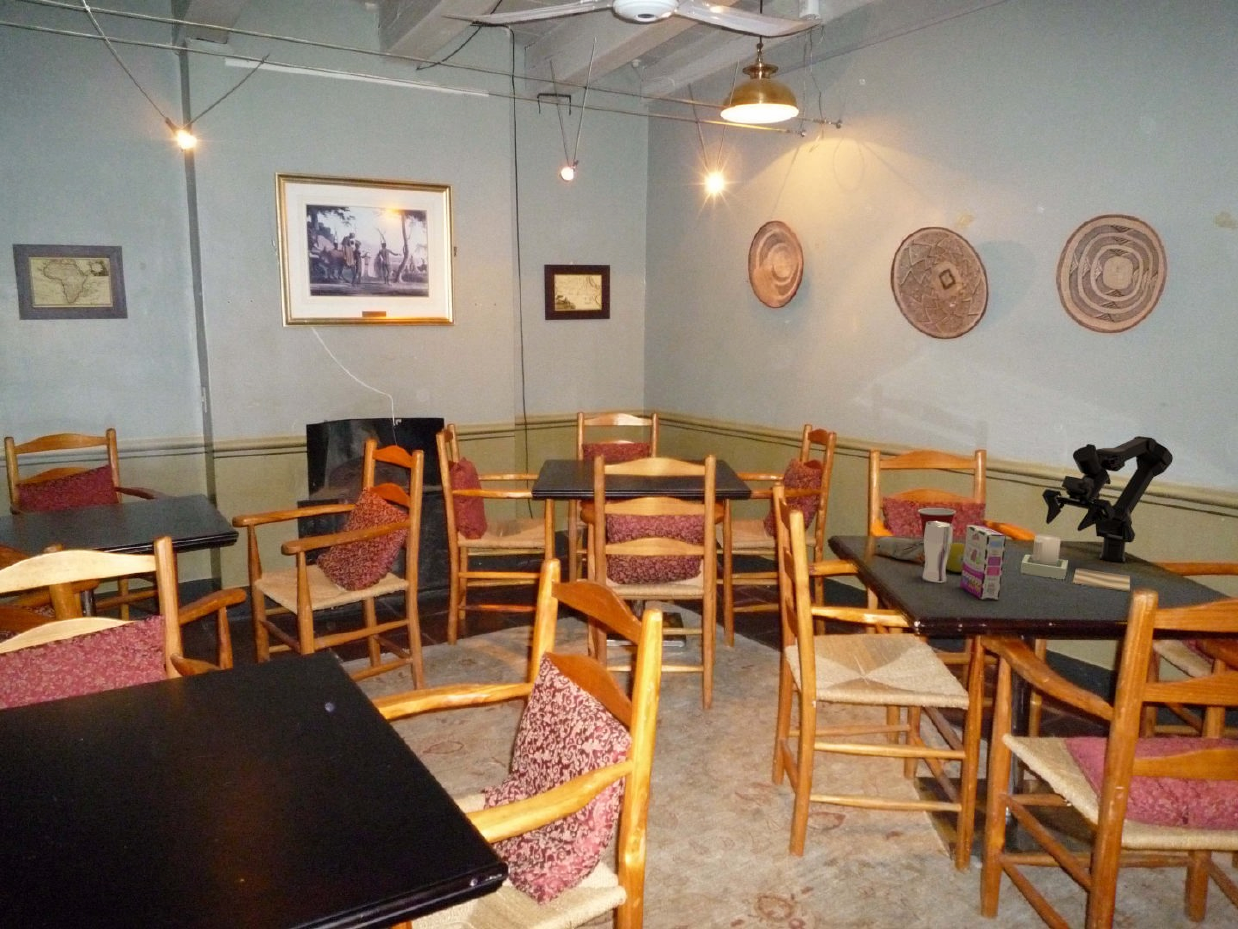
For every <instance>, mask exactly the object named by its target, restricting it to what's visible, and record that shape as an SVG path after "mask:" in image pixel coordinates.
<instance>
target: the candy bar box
mask: <svg viewBox="0 0 1238 929" xmlns="http://www.w3.org/2000/svg"><path fill="white" fill-rule="evenodd" d="M965 530H966V531H965V540H964V544H965V547H964V557H963V566H962V572H961V577H960V578H961V579H960V587H961V588H962V589H963V590H964V591H966V592H968V593H969V594H971V595H973V596H975V597H976V598H978V599H980V600H983V601H985V600H986V601H999V600H1000V592H1001V586H1002V585H1001V584H1002V574H1003V565H1004V558H1005V548H1006V539H1007V535H1006V534H1004V533H1001V532H999V531H996V530H994V529H992V528H990V527H988V526H985V525H980V524H979V525H975V524H974V525H972V524H971V525H970V524H967V525H966V529H965Z"/></svg>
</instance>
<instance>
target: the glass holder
mask: <svg viewBox="0 0 1238 929" xmlns="http://www.w3.org/2000/svg"><path fill="white" fill-rule="evenodd" d="M1032 558H1033V554H1025V555H1024V556H1023V558H1022V561H1021V565H1020V574H1023V573H1025V574H1024V575H1031V576H1036V577H1045V578H1049V577H1051V578H1050V579H1055V578H1056V580H1062V579H1063V581H1065V580H1064V579H1066V575H1067V573H1066V572H1068V566H1069V560H1066V559H1062V558H1061V559H1060V558H1059V559H1058V567H1055V566H1049V565H1042V564H1035V563H1032Z"/></svg>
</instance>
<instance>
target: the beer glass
mask: <svg viewBox="0 0 1238 929" xmlns="http://www.w3.org/2000/svg"><path fill="white" fill-rule="evenodd" d="M953 526H954V525H953V524H952V523H951V524H950V523H946V522H939V521H929V522H926V528H925V533H924V551H923V554H924V556H925V558H924V560H925V563H924V569H923V572H922V577H921V579H923V581H926V582H931V583H937V584H940V583H941V584H942V583H946V582H947V569H946V565H947V561H948V558H949V554H950V551H951V546H952V543H953V536H954V535H953V533H954V532H953ZM924 556H923V557H924Z"/></svg>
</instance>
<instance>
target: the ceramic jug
mask: <svg viewBox="0 0 1238 929" xmlns="http://www.w3.org/2000/svg"><path fill="white" fill-rule="evenodd" d="M1033 541H1034V543H1033V549H1032V550H1033V551H1032V555H1033V558H1032V563H1035V564H1042V565H1049V566H1055V567H1058V559H1060V557H1059V556H1060V551H1061V550H1060V548H1061V541H1062V539H1061V537H1060V536H1056V535H1054V534H1047V533H1037V534H1034V540H1033Z"/></svg>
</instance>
